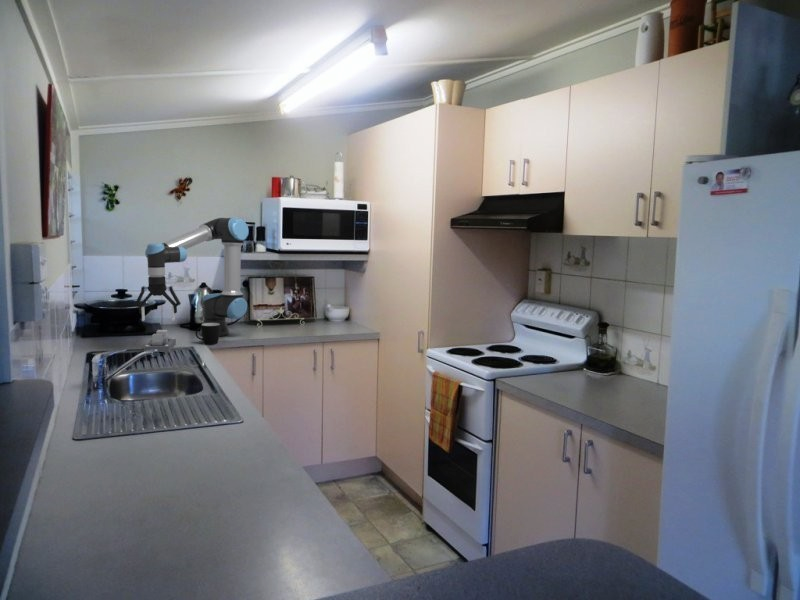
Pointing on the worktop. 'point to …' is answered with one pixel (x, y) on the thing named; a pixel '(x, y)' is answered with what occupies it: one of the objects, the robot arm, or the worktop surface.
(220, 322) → the robot arm
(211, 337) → the mug
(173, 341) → the grey blocky piece
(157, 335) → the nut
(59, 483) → the worktop surface
